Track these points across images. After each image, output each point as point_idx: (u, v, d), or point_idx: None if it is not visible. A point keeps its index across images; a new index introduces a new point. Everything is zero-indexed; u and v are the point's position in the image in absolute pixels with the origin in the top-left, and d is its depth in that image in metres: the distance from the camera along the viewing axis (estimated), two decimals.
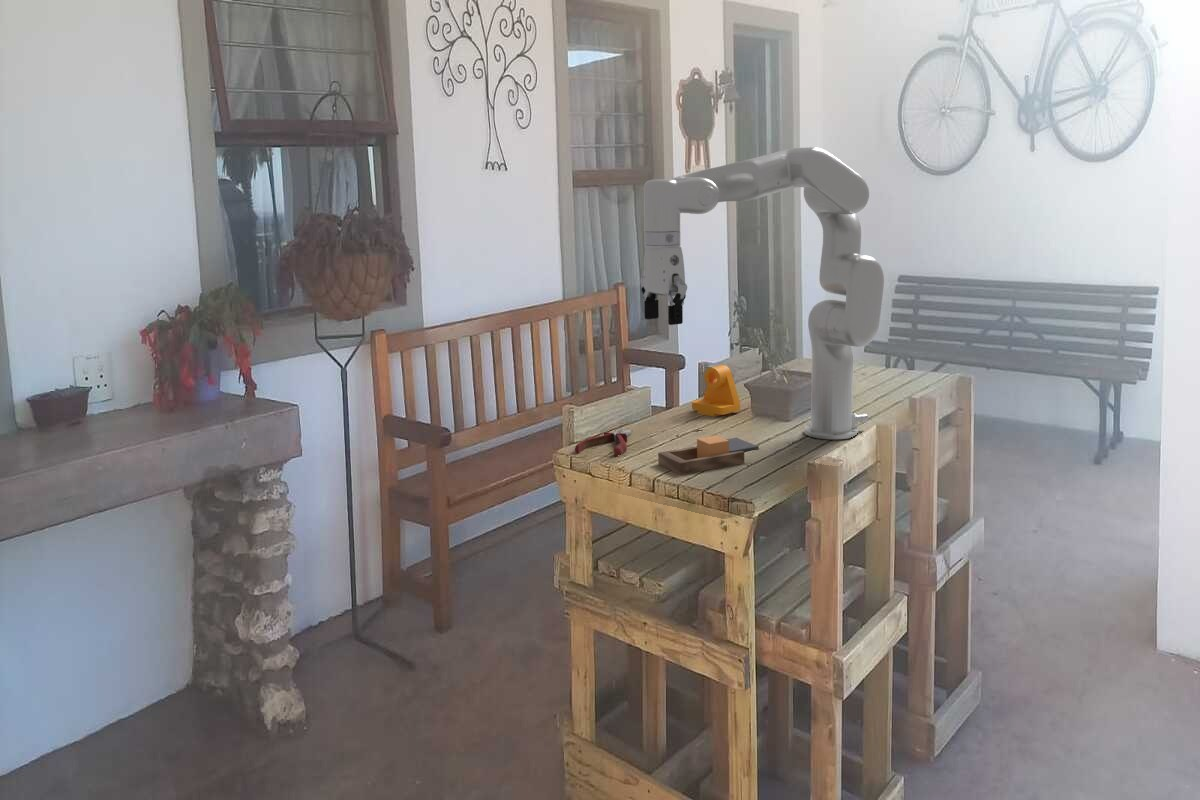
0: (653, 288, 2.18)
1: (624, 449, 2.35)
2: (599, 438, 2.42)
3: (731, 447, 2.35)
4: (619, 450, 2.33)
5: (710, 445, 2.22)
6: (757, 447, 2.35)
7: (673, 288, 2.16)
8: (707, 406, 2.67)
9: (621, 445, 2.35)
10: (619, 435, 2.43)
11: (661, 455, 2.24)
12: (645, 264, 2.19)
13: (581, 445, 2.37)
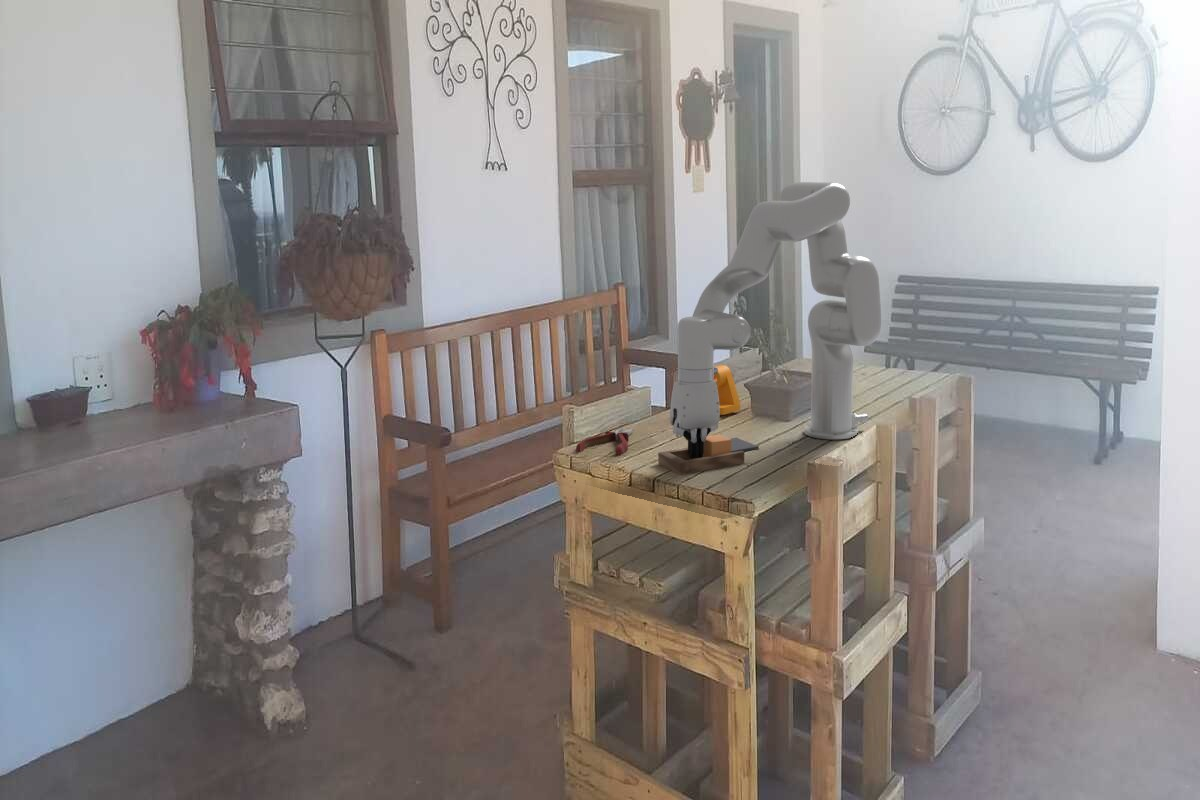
0: (700, 423, 2.21)
1: (625, 448, 2.35)
2: (600, 437, 2.43)
3: (731, 447, 2.35)
4: (620, 449, 2.33)
5: (713, 443, 2.23)
6: (757, 447, 2.35)
7: None
8: None
9: (622, 444, 2.35)
10: (620, 434, 2.43)
11: (661, 455, 2.24)
12: (688, 402, 2.18)
13: (582, 444, 2.38)
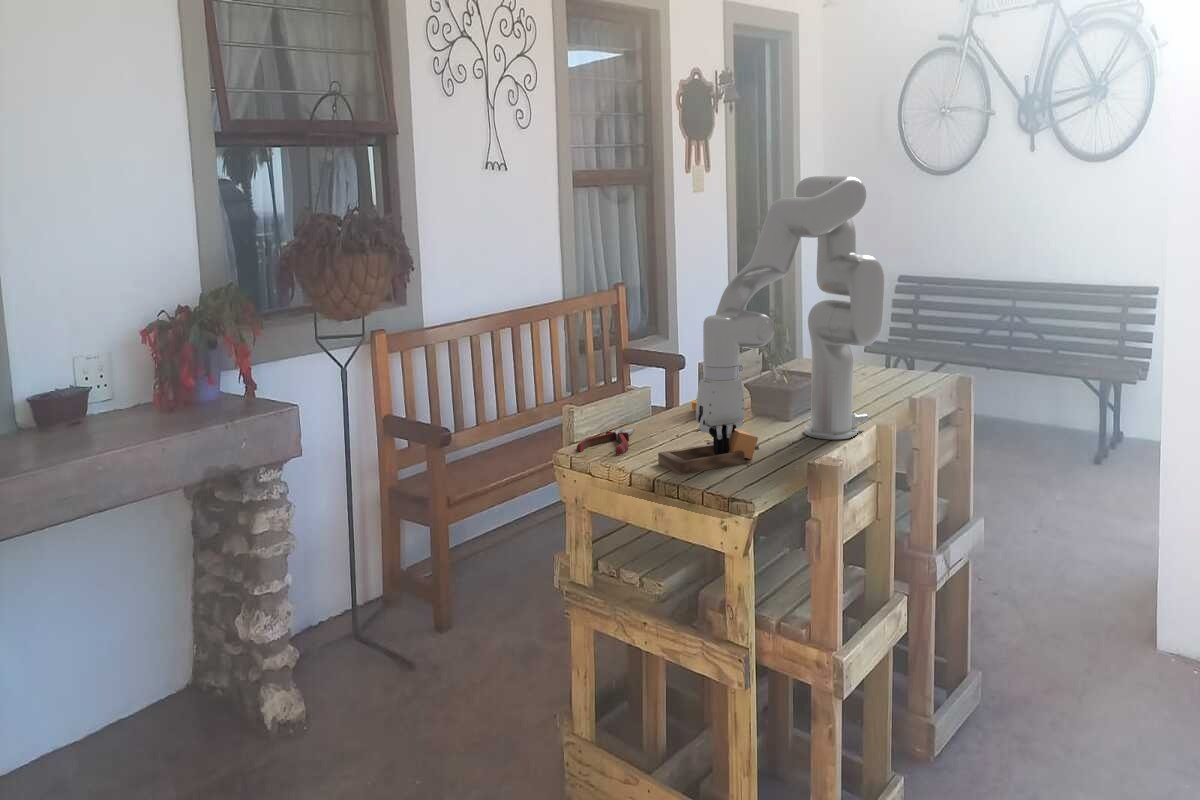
0: (725, 420, 2.23)
1: (626, 448, 2.36)
2: (601, 437, 2.43)
3: None
4: (620, 449, 2.33)
5: (739, 434, 2.25)
6: (757, 447, 2.35)
7: None
8: None
9: (623, 444, 2.35)
10: (621, 434, 2.44)
11: (661, 455, 2.24)
12: (713, 400, 2.21)
13: (583, 444, 2.38)
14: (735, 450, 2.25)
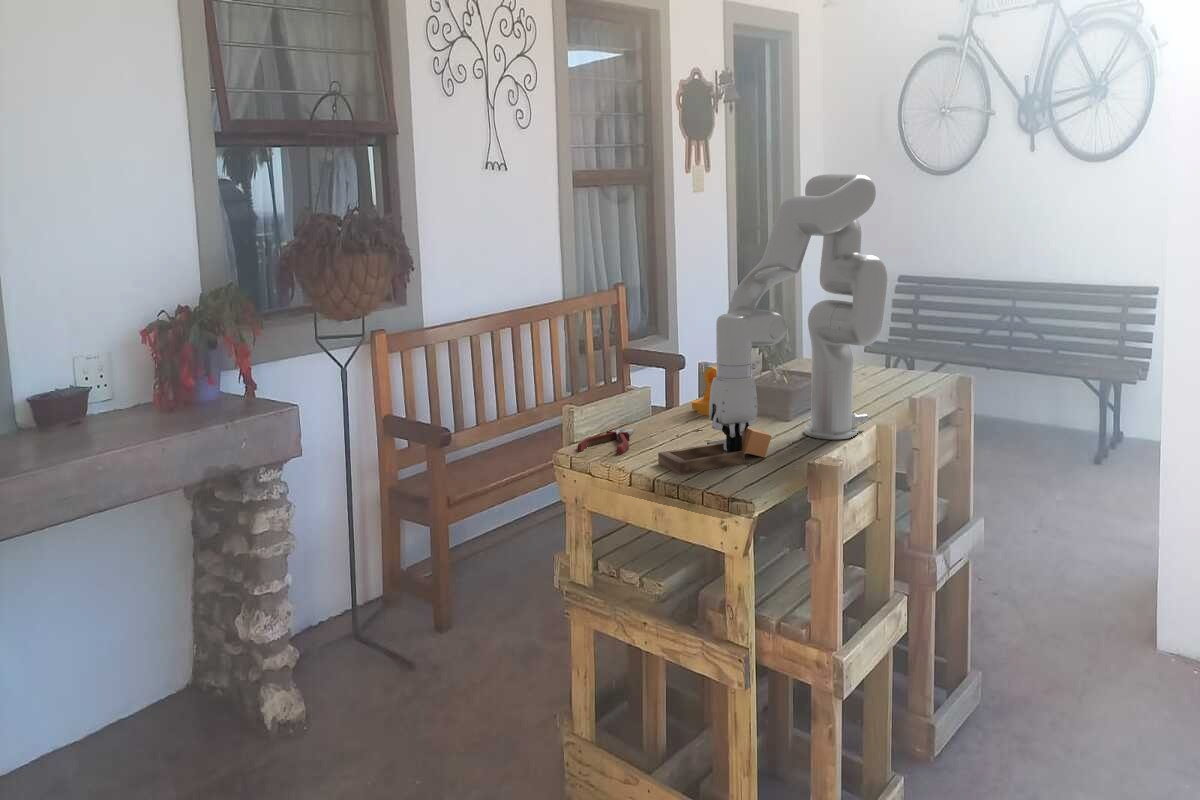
0: (738, 418, 2.25)
1: (626, 448, 2.36)
2: (601, 437, 2.43)
3: None
4: (621, 448, 2.34)
5: (753, 432, 2.26)
6: None
7: None
8: (707, 406, 2.67)
9: (623, 444, 2.36)
10: (621, 434, 2.44)
11: (661, 455, 2.24)
12: (727, 398, 2.22)
13: (583, 444, 2.39)
14: (748, 448, 2.27)
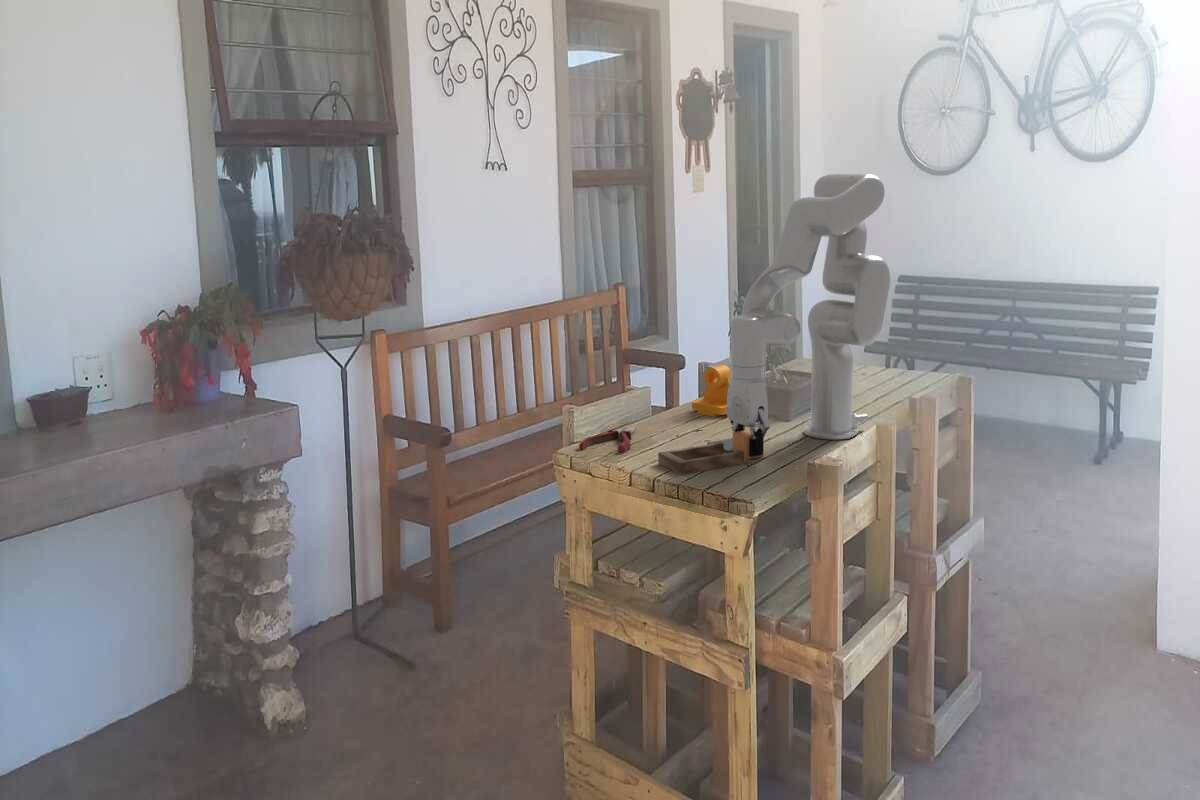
0: None
1: (628, 447, 2.37)
2: (603, 436, 2.44)
3: (731, 447, 2.35)
4: (622, 447, 2.35)
5: (744, 438, 2.27)
6: None
7: None
8: (707, 406, 2.67)
9: (625, 443, 2.37)
10: (623, 433, 2.45)
11: (661, 455, 2.24)
12: None
13: (585, 443, 2.40)
14: (745, 454, 2.27)
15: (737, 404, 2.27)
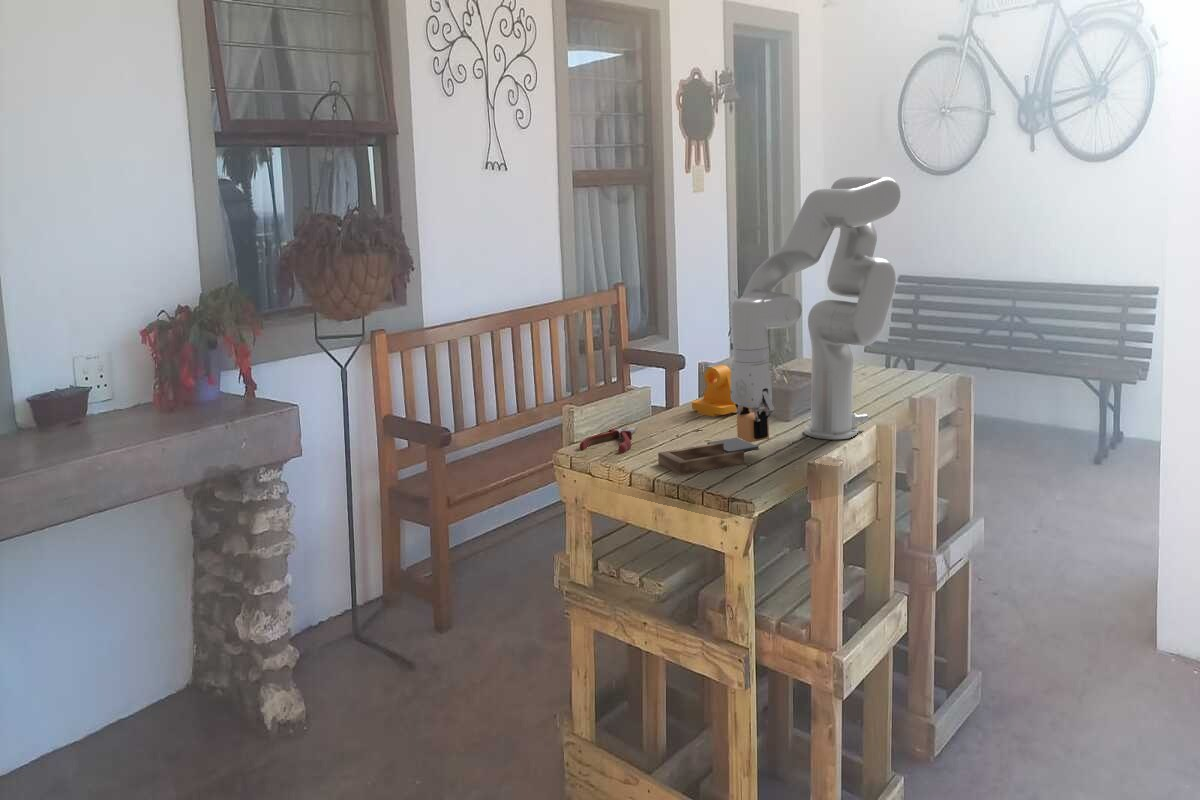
0: None
1: (628, 446, 2.37)
2: (604, 435, 2.45)
3: (731, 447, 2.35)
4: (623, 447, 2.35)
5: (749, 421, 2.26)
6: (757, 447, 2.35)
7: None
8: (707, 406, 2.67)
9: (625, 442, 2.37)
10: (624, 432, 2.45)
11: (661, 455, 2.24)
12: None
13: (586, 442, 2.40)
14: (751, 437, 2.27)
15: (741, 387, 2.26)
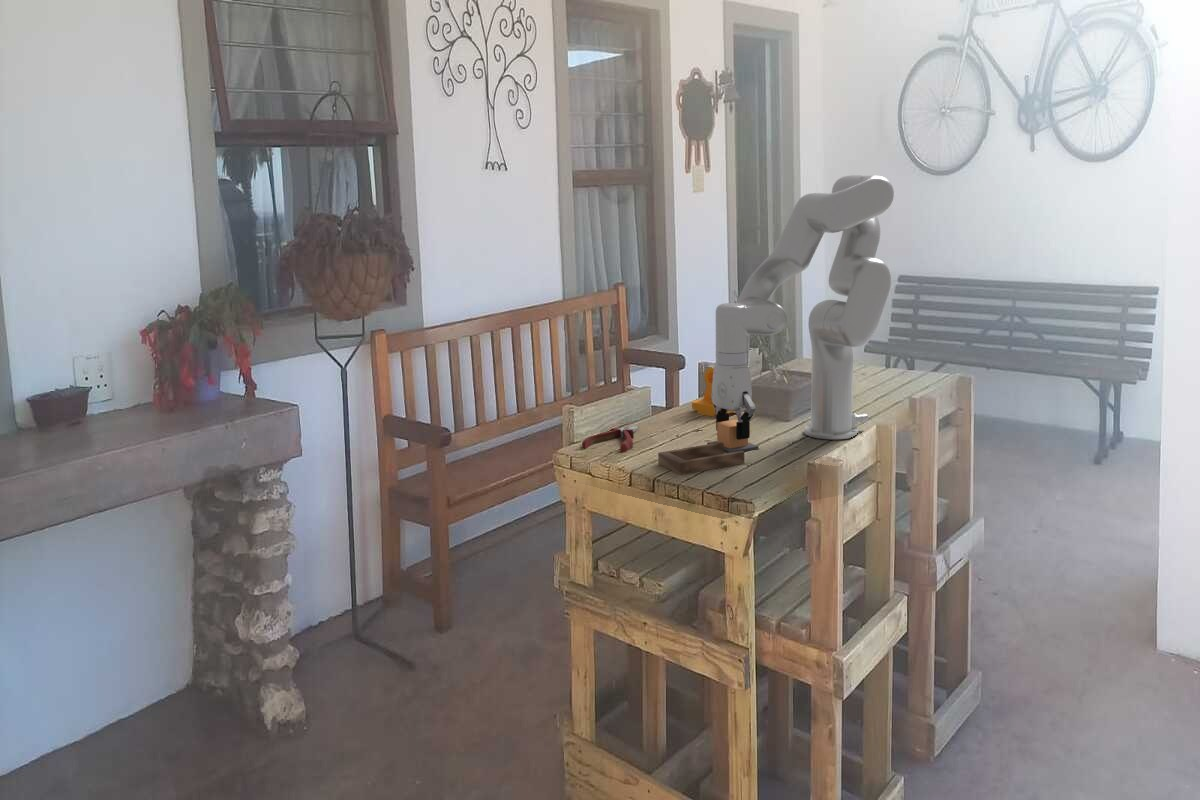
0: None
1: (630, 445, 2.38)
2: (606, 434, 2.46)
3: None
4: (625, 446, 2.36)
5: (730, 428, 2.33)
6: (757, 447, 2.35)
7: None
8: (707, 406, 2.67)
9: (627, 441, 2.38)
10: (626, 431, 2.46)
11: (661, 455, 2.24)
12: None
13: (588, 441, 2.41)
14: (730, 443, 2.34)
15: (722, 389, 2.33)
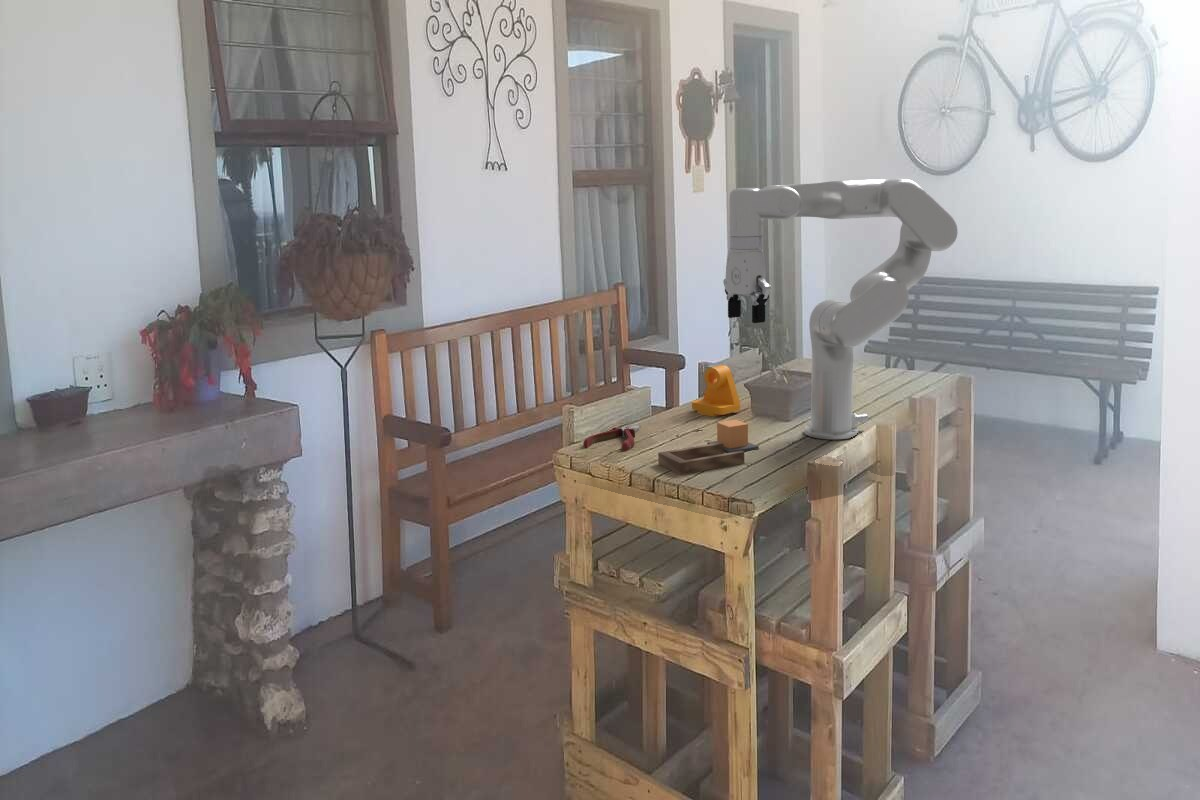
0: None
1: (632, 444, 2.39)
2: (607, 433, 2.46)
3: None
4: (626, 445, 2.37)
5: (730, 428, 2.33)
6: (757, 447, 2.35)
7: None
8: (707, 406, 2.67)
9: (629, 440, 2.39)
10: (627, 430, 2.47)
11: (661, 455, 2.24)
12: None
13: (589, 440, 2.42)
14: (730, 443, 2.34)
15: (736, 275, 2.33)
